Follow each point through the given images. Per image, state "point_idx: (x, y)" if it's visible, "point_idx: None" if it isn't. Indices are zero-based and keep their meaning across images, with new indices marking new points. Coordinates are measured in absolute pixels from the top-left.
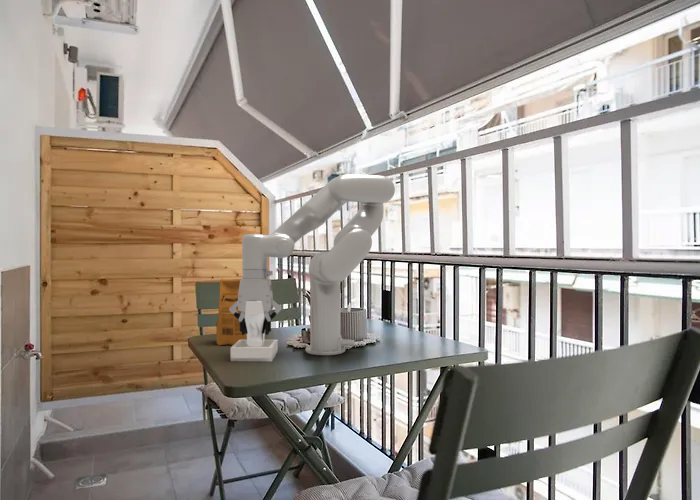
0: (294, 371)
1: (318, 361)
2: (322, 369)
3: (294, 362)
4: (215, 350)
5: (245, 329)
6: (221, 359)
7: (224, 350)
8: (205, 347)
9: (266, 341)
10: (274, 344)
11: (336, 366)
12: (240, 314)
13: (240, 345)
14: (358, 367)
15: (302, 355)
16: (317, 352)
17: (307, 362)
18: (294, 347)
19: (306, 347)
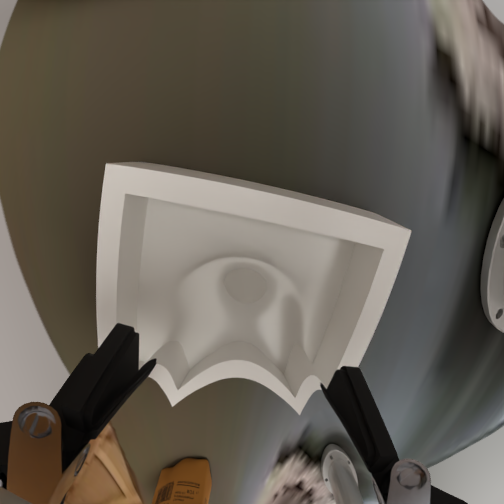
0: None
1: (452, 392)
2: (414, 455)
3: (385, 406)
4: (33, 102)
5: (126, 376)
6: (79, 309)
7: (67, 101)
8: (9, 43)
9: (326, 233)
10: None
11: (455, 431)
12: (5, 464)
13: (129, 241)
14: (481, 430)
15: (453, 306)
16: (495, 326)
17: (421, 404)
18: (462, 115)
19: (500, 234)
